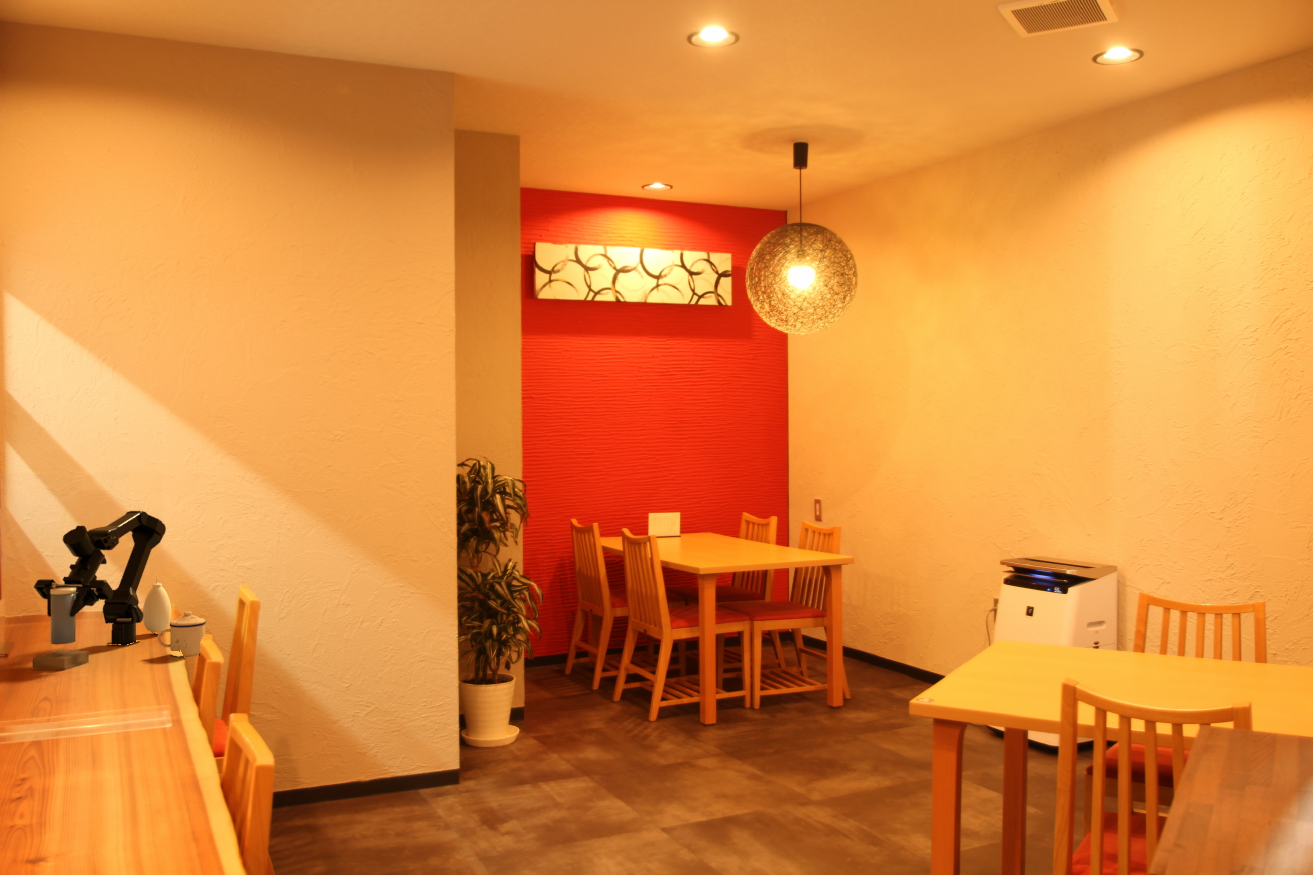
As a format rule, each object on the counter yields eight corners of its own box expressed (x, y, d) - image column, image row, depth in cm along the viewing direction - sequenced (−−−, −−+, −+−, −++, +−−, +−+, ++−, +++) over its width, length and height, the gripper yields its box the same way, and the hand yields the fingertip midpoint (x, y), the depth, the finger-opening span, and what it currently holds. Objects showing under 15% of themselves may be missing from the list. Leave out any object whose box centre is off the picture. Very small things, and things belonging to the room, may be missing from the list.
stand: (57, 661, 264) (57, 649, 264) (88, 662, 263) (88, 650, 263) (32, 668, 255) (32, 657, 255) (64, 669, 254) (64, 658, 254)
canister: (68, 638, 263) (68, 586, 262) (80, 641, 260) (80, 588, 259) (45, 642, 258) (45, 589, 257) (57, 645, 255) (58, 591, 254)
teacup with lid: (204, 649, 280) (204, 608, 280) (206, 655, 272) (206, 613, 272) (157, 653, 274) (157, 611, 274) (157, 659, 266) (157, 616, 266)
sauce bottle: (143, 632, 303) (143, 574, 303) (171, 630, 306) (171, 572, 306) (141, 637, 296) (142, 577, 296) (170, 635, 299) (171, 576, 299)
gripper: (131, 585, 274) (107, 633, 263) (64, 585, 274) (39, 632, 263) (114, 561, 266) (90, 609, 255) (46, 560, 266) (19, 608, 255)
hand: (60, 615), depth 257 cm, fingers closed on canister, 6 cm apart
